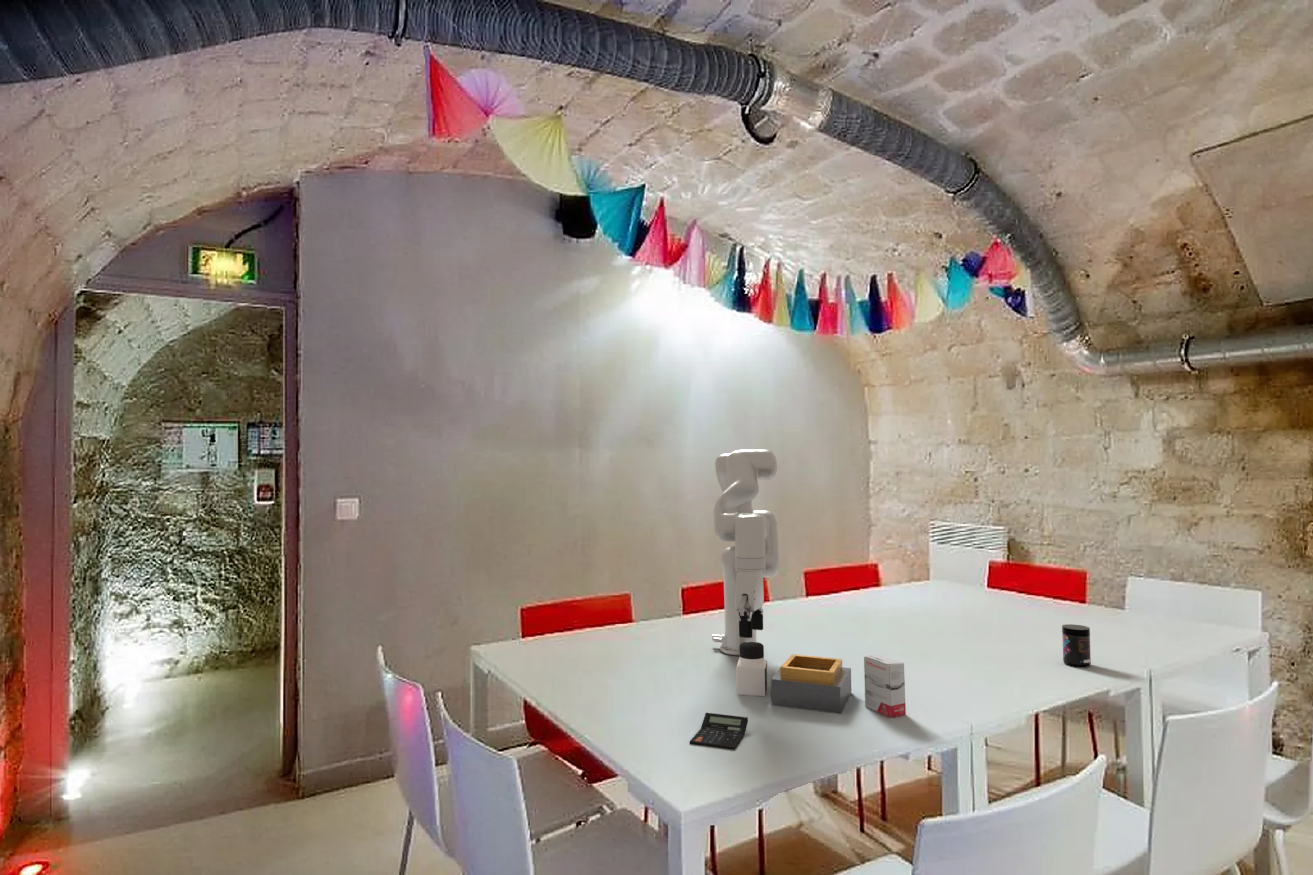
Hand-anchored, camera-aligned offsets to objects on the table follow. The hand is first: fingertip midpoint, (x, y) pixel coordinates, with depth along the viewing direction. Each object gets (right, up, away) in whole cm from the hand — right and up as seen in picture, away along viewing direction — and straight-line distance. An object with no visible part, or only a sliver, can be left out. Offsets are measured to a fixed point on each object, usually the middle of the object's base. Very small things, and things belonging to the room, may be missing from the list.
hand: (751, 633), depth 178 cm
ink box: (+29, -14, -15) cm, 35 cm away
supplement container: (+93, -15, +20) cm, 96 cm away
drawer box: (+14, -14, -5) cm, 21 cm away
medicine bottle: (0, -15, 0) cm, 15 cm away
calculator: (-11, -14, -29) cm, 34 cm away
